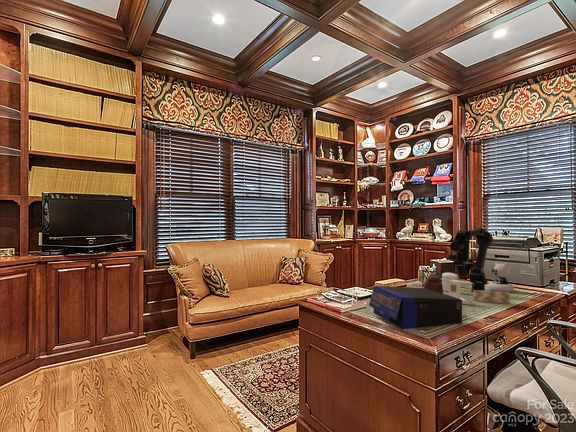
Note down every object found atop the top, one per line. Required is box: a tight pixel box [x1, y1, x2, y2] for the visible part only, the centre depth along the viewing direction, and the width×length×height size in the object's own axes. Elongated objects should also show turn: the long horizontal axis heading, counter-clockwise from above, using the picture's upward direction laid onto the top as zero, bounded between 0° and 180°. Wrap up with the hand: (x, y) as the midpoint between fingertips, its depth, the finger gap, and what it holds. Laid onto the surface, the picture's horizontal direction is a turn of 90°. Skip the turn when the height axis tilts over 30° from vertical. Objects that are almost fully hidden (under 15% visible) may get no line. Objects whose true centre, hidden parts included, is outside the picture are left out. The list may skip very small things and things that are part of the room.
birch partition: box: [473, 290, 511, 304], centre depth 185 cm, size 18×2×6 cm, turn 71°
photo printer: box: [441, 272, 460, 292], centre depth 210 cm, size 10×4×12 cm, turn 39°
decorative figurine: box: [487, 261, 515, 293], centre depth 215 cm, size 15×15×20 cm
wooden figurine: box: [423, 274, 444, 294], centre depth 171 cm, size 12×6×18 cm, turn 32°
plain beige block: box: [448, 280, 461, 299], centre depth 186 cm, size 4×5×11 cm
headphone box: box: [368, 285, 463, 330], centre depth 155 cm, size 25×35×14 cm
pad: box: [460, 296, 472, 305], centre depth 186 cm, size 12×12×1 cm
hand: (463, 275), depth 198 cm, fingers open, 9 cm apart
